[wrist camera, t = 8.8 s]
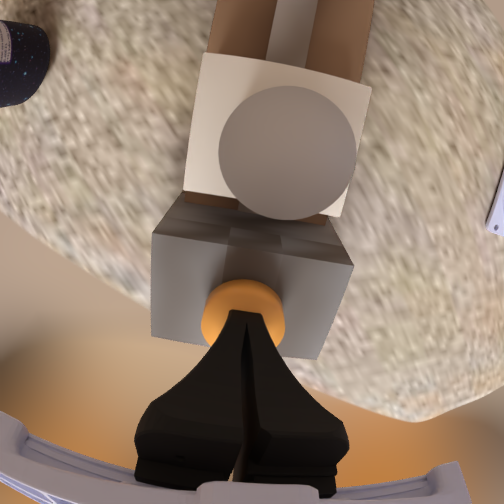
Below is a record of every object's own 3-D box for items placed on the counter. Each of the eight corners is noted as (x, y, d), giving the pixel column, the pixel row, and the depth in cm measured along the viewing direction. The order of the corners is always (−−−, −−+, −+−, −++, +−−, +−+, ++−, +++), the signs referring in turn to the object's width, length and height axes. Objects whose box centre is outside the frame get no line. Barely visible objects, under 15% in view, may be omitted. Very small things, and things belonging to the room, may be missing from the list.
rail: (382, -64, 10) (424, -106, 5) (304, 297, 22) (317, 365, 16) (240, -96, 10) (234, -152, 4) (174, 277, 21) (149, 341, 16)
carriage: (351, 89, 14) (431, 85, 7) (326, 197, 17) (375, 275, 9) (213, 61, 13) (172, 25, 6) (195, 174, 16) (147, 238, 9)
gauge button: (288, 265, 15) (294, 302, 13) (272, 322, 17) (274, 362, 14) (213, 253, 15) (205, 288, 12) (206, 312, 17) (198, 352, 14)
